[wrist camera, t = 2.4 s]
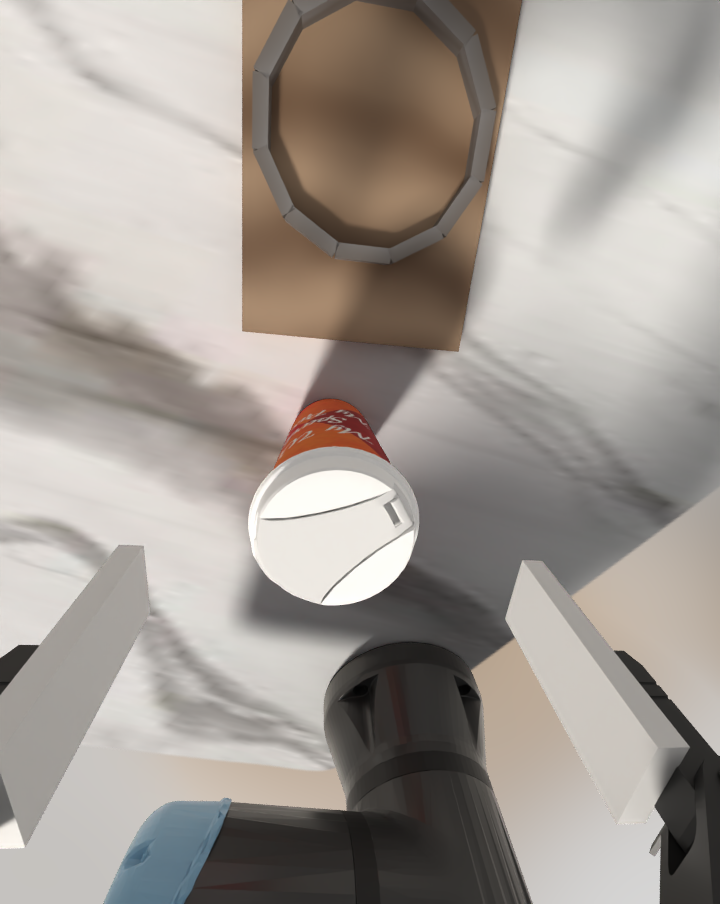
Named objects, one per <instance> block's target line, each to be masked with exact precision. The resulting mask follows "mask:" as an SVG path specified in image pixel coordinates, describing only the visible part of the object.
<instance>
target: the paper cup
mask: <svg viewBox="0 0 720 904" xmlns="http://www.w3.org/2000/svg"><path fill="white" fill-rule="evenodd" d="M418 529H419V509H418V504H417V500H416V497H415V495H414V492H413V490H412V488H411V486H410V485H409V483H408V482H407V480H406V479H405V477H404V476H403V475H402V474H401V473H400V472H399V471H398V470H397V469H396V468H395V467H394V466H392V465H391V463H390V461H389V459H388V458H387V456H386V454H385V453H384V451H383V450H382V448H381V446H380V444H379V442H378V441H377V439H376V437H375V435H374V433H373V432H372V430H371V428H370V427H369V425H368V423H367V421H366V420H365V418H364V417H363V415H362V414H361V413H360V412H359V411H358V410H357V409H356V408H355V407H354V406H352V405H351V404H349V403H347V402H345V401H342V400H337V399H323V400H319V401H316V402H314V403H312V404H310V405H309V406H307V407H306V408H305V409H303V410H302V412H301V413H300V414H299V415H298V417H297V418H296V420H295V422H294V424H293V426H292V428H291V430H290V432H289V434H288V437H287V439H286V441H285V443H284V446H283V448H282V450H281V453H280V455H279V457H278V460H277V462H276V464H275V467H274V469H273V471H272V472H270V473H269V475H268V476H267V477H266V478H265V479H264V480H263V482H262V483H261V484H260V486H259V488H258V490H257V491H256V493H255V495H254V498H253V501H252V503H251V506H250V511H249V517H248V531H249V535H250V540H251V547H252V554H253V556H254V557H255V559H256V561H257V563H258V564H259V566H260V568H261V569H262V570H263V572H264V573H265V574H266V575H267V576H268V578H269V579H270V580H272V581H273V582H274V583H276V584H277V585H279V586H280V587H281V588H283V589H284V590H285V591H287V592H289V593H290V594H292V595H294V596H296V597H299V598H302V599H304V600H307V601H310V602H314V603H317V604H321V605H345V604H351V603H355V602H359V601H362V600H365V599H367V598H370V597H372V596H374V595H375V594H377V593H379V592H381V591H382V590H384V589H385V588H386V587H388V586H389V585H390V584H391V583H392V582H393V581H394V580H395V579H396V578H397V577H398V576H399V575H400V573H401V572H402V571H403V569H404V568H405V566H406V564H407V563H408V561H409V559H410V556H411V553H412V550H413V547H414V544H415V541H416V538H417V535H418Z"/></svg>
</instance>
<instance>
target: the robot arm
mask: <svg viewBox="0 0 720 904" xmlns="http://www.w3.org/2000/svg"><path fill="white" fill-rule="evenodd" d="M149 614H150V603H149V593H148V584H147V574H146V564H145V555H144V546H133V545H119V546H118V547H117V548H116V549H115V551H114V552H113V553H112V554H111V556H110V557H109V558H108V559H107V561H106V562H105V563H104V564H103V566H102V567H101V568H100V570H99V571H98V572H97V573H96V575H95V576H94V577H93V578H92V580H91V581H90V582H89V583H88V585H87V586H86V587H85V589H84V590H83V591H82V592H81V594H80V595H79V596H78V597H77V599H76V600H75V601H74V602H73V604H72V605H71V606H70V608H69V609H68V610H67V611H66V613H65V614H64V615H63V616H62V618H61V619H60V620H59V621H58V623H57V624H56V625H55V627H54V628H53V629H52V630H51V632H50V633H49V634H48V635H47V637H46V638H45V639H44V640H43V642H42V643H41V644H40V645H18V646H17V647H15V648H14V649H13V650H11V651H10V652H8V653H7V654H6V655H4V656H3V657H1V658H0V849H2V848H25V847H26V845H27V843H28V841H29V840H30V838H31V836H32V834H33V832H34V830H35V828H36V826H37V824H38V822H39V820H40V819H41V817H42V815H43V813H44V811H45V809H46V807H47V805H48V804H49V802H50V800H51V798H52V796H53V794H54V792H55V790H56V789H57V787H58V785H59V783H60V781H61V779H62V777H63V776H64V773H65V772H66V770H67V768H68V766H69V764H70V762H71V760H72V759H73V757H74V755H75V753H76V751H77V749H78V747H79V745H80V744H81V742H82V740H83V738H84V736H85V734H86V732H87V730H88V728H89V727H90V725H91V723H92V721H93V719H94V717H95V715H96V713H97V712H98V710H99V708H100V706H101V704H102V702H103V700H104V698H105V696H106V695H107V693H108V691H109V689H110V687H111V685H112V683H113V681H114V680H115V678H116V676H117V674H118V672H119V670H120V668H121V666H122V665H123V663H124V661H125V659H126V657H127V655H128V653H129V651H130V649H131V648H132V646H133V644H134V642H135V640H136V638H137V636H138V634H139V633H140V631H141V629H142V627H143V625H144V623H145V621H146V619H147V617H148V616H149ZM505 620H506V622H507V624H508V625H509V627H510V629H511V631H512V633H513V635H514V637H515V638H516V640H517V642H518V644H519V646H520V648H521V649H522V651H523V653H524V655H525V657H526V659H527V660H528V662H529V664H530V666H531V668H532V670H533V672H534V673H535V675H536V677H537V679H538V681H539V683H540V684H541V686H542V688H543V690H544V692H545V694H546V695H547V697H548V699H549V701H550V703H551V705H552V707H553V708H554V710H555V712H556V714H557V716H558V717H559V719H560V721H561V723H562V725H563V727H564V729H565V731H566V732H567V734H568V736H569V738H570V740H571V741H572V743H573V745H574V747H575V749H576V751H577V753H578V754H579V756H580V758H581V760H582V762H583V764H584V765H585V767H586V769H587V771H588V773H589V774H590V777H591V778H592V780H593V782H594V784H595V786H596V788H597V789H598V791H599V793H600V795H601V797H602V799H603V800H604V802H605V804H606V806H607V808H608V810H609V812H610V813H611V815H612V817H613V819H614V821H615V823H616V824H640V823H646V822H647V820H648V818H649V816H650V815H651V813H652V812H653V810H654V808H656V810H657V811H658V813H659V814H660V816H661V818H662V819H663V821H664V822H665V824H664V826H663V828H662V829H661V831H660V833H659V834H658V836H657V837H656V839H655V841H654V842H653V844H652V846H651V849H650V852H649V853H650V854H652V855H653V856H655V855H656V854H657V852H658V851H659V849H660V848H661V861H660V864H661V865H660V904H720V756H718V755H717V754H716V753H715V752H714V751H713V749H712V748H711V747H710V746H709V745H708V743H707V742H706V741H705V740H704V739H703V738H702V736H701V735H700V734H699V733H698V731H697V730H696V729H695V728H694V727H693V726H692V724H691V723H690V722H689V721H688V720H687V719H686V717H685V716H684V715H683V714H682V712H681V711H680V710H679V709H678V708H677V706H676V705H675V704H674V703H673V702H672V700H669V699H668V696H667V695H666V693H665V692H664V691H663V690H662V689H661V687H660V686H658V685H657V684H656V681H655V680H654V679H653V678H652V677H651V676H650V674H649V673H648V672H647V671H646V669H645V668H644V667H643V666H642V665H641V664H640V663H639V662H637V661H636V660H635V659H633V658H632V657H631V656H630V655H628V654H627V653H626V652H625V651H613V650H612V648H611V647H610V646H609V645H608V643H607V642H606V641H605V639H604V638H603V637H602V636H601V634H600V633H599V632H598V631H597V629H596V628H595V627H594V626H593V624H592V623H591V622H590V620H589V619H588V618H587V617H586V616H585V614H584V613H583V612H582V610H581V609H580V608H579V607H578V605H577V604H576V603H575V602H574V600H573V599H572V598H571V597H570V595H569V594H568V593H567V591H566V590H565V589H564V588H563V586H562V585H561V584H560V583H559V581H558V580H557V579H556V578H555V576H554V575H553V574H552V573H551V571H550V570H549V569H548V567H547V566H546V565H545V564H544V562H543V561H538V560H522V563H521V566H520V569H519V573H518V576H517V580H516V583H515V586H514V590H513V593H512V597H511V600H510V604H509V607H508V610H507V614H506V617H505ZM324 731H325V736H326V740H327V743H328V746H329V749H330V752H331V755H332V758H333V761H334V764H335V767H336V769H337V772H338V775H339V778H340V781H341V784H342V787H343V790H344V793H345V796H346V804H347V811H341V810H328V809H315V808H301V807H288V806H275V805H261V804H248V803H234V802H231V799H229V798H223V799H222V800H221V801H220V802H218V801H175V802H170V803H167V804H165V805H163V806H161V807H160V808H158V809H157V810H156V811H154V812H153V813H152V814H151V815H150V816H149V817H148V818H147V819H146V821H145V822H144V823H143V825H142V826H141V828H140V829H139V831H138V832H137V834H136V836H135V838H134V840H133V841H132V843H131V845H130V847H129V849H128V851H127V853H126V855H125V857H124V859H123V861H122V863H121V866H120V868H119V870H118V872H117V874H116V877H115V878H114V881H113V883H112V885H111V888H110V889H109V892H108V894H107V896H106V899H105V901H104V903H103V904H533V903H532V901H531V898H530V895H529V892H528V889H527V886H526V883H525V880H524V877H523V875H522V872H521V869H520V866H519V863H518V860H517V857H516V855H515V851H514V849H513V846H512V843H511V840H510V837H509V834H508V831H507V828H506V826H505V823H504V820H503V817H502V814H501V811H500V808H499V805H498V803H497V800H496V797H495V794H494V792H493V789H492V786H491V782H490V780H489V776H488V773H487V770H486V756H485V736H484V716H483V704H482V699H481V695H480V692H479V690H478V687H477V685H476V682H475V679H474V677H473V674H472V672H471V670H470V669H469V667H468V666H467V665H466V664H465V662H464V661H462V660H461V659H460V658H459V657H458V656H456V655H455V654H453V653H451V652H450V651H448V650H446V649H443V648H440V647H437V646H434V645H429V644H423V643H398V644H391V645H386V646H382V647H379V648H376V649H373V650H370V651H368V652H366V653H364V654H362V655H360V656H358V657H356V658H355V659H353V660H352V661H350V662H349V663H348V664H346V665H345V666H344V667H343V668H342V669H341V670H340V671H339V672H338V673H337V674H336V675H335V677H334V678H333V680H332V681H331V683H330V684H329V686H328V689H327V691H326V694H325V698H324Z"/></svg>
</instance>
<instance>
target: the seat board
mask: <svg viewBox="0 0 720 904" xmlns="http://www.w3.org/2000/svg"><path fill="white" fill-rule="evenodd" d="M521 4H522V0H242V331H245V332H256V333H266V334H277V335H288V336H298V337H309V338H319V339H330V340H341V341H351V342H362V343H372V344H383V345H393V346H404V347H415V348H425V349H436V350H446V351H457V352H459V346H460V341H461V335H462V330H463V324H464V318H465V313H466V307H467V302H468V296H469V291H470V285H471V280H472V274H473V269H474V263H475V258H476V252H477V247H478V241H479V236H480V230H481V225H482V219H483V214H484V208H485V203H486V197H487V191H488V186H489V180H490V175H491V169H492V164H493V158H494V153H495V147H496V142H497V136H498V131H499V125H500V120H501V114H502V109H503V103H504V98H505V92H506V87H507V81H508V75H509V70H510V64H511V59H512V53H513V48H514V42H515V37H516V31H517V26H518V20H519V15H520V9H521Z"/></svg>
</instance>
